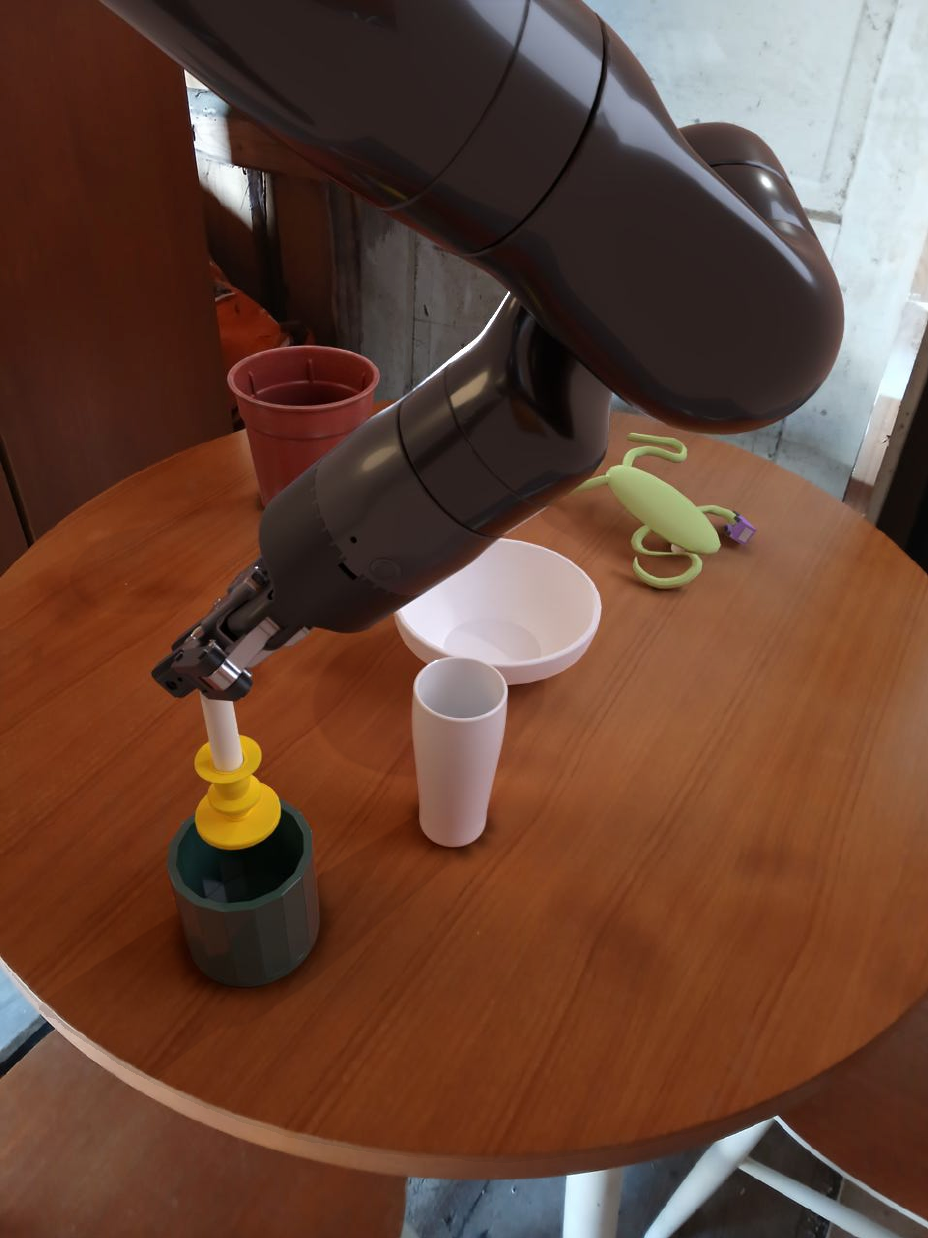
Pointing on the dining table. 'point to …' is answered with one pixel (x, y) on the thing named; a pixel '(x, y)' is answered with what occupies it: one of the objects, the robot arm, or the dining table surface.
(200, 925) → the cup
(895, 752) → the dining table surface
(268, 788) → the candle
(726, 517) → the figurine
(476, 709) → the drinking glass
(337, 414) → the flower pot
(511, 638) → the bowl
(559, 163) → the robot arm
